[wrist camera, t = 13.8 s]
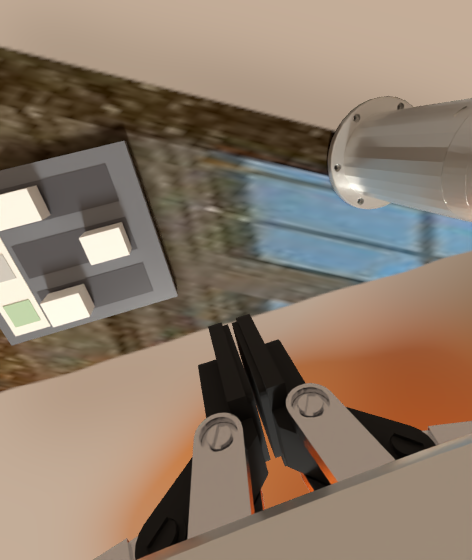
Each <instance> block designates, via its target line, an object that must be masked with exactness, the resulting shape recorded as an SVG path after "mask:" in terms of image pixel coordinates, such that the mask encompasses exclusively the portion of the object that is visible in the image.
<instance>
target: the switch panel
mask: <svg viewBox="0 0 472 560" xmlns="http://www.w3.org/2000/svg"><path fill="white" fill-rule="evenodd" d="M32 186H37V188H38V190H39V192H40V194H41V196H42V198H43V200H44V202H45V204H46V206H47V208H48V211H49V213H50V216H48V217H47V218H45V219H43V220H41V221H37V222H33V223H29V224H26V225H22V226H18V227H14V228H10V229H6V230H3V231H0V328H1V330H2V332H3V333H4V335H5V336H6V338H7V339H8V341H9V342H10V344H11V345H15V344H18V343H22V342H25V341H28V340H32V339H35V338H38V337H42V336H45V335H48V334H52V333H55V332H59V331H62V330H65V329H69V328H72V327H75V326H79V325H82V324H86V323H89V322H92V321H96V320H99V319H102V318H106V317H109V316H113V315H116V314H119V313H123V312H126V311H129V310H133V309H136V308H140V307H143V306H146V305H150V304H153V303H156V302H160V301H163V300H166V299H170V298H173V297H177V296H178V295H177V289H176V286H175V283H174V280H173V278H172V275H171V272H170V269H169V266H168V263H167V260H166V257H165V254H164V251H163V248H162V245H161V242H160V240H159V237H158V234H157V231H156V228H155V225H154V222H153V219H152V216H151V213H150V210H149V207H148V204H147V202H146V199H145V196H144V193H143V190H142V187H141V184H140V181H139V178H138V175H137V172H136V169H135V166H134V164H133V161H132V158H131V155H130V152H129V149H128V146H127V143H126V141H121V142H117V143H113V144H109V145H104V146H100V147H96V148H92V149H88V150H84V151H79V152H75V153H71V154H67V155H63V156H59V157H54V158H50V159H46V160H42V161H38V162H34V163H29V164H25V165H21V166H17V167H13V168H9V169H4V170H0V194H3V193H7V192H11V191H15V190H19V189H24V188H28V187H32ZM120 222H122V224H123V226H124V229H125V232H126V234H127V237H128V239H129V242H130V245H131V247H132V249H131V252H130V255H127V256H123V257H120V258H116V259H113V260H109V261H105V262H102V263H98V264H95V265H91V264H90V262H89V260H88V257H87V255H86V253H85V251H84V249H83V247H82V244H81V242H80V240H79V237H80V236H81V235H82V234H83V233H84V232H86V231H90V230H94V229H97V228H101V227H105V226H109V225H112V224H116V223H120ZM81 284H84V285H85V287H86V289H87V291H88V293H89V295H90V297H91V300H92V302H93V304H94V306H95V307H94V309H93V311H92V314H91V316H90V317H87V318H84V319H80V320H77V321H74V322H70V323H67V324H63V325H60V326H57V327H53V326H52V324H51V323H50V321H49V319H48V317H47V316H46V314H45V312H44V310H43V309H42V307H41V305H40V303H41V302H42V301H43V299H44V298H45V297H46V296H47V294H49V293H53V292H56V291H60V290H63V289H67V288H70V287H74V286H77V285H81Z"/></svg>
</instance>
